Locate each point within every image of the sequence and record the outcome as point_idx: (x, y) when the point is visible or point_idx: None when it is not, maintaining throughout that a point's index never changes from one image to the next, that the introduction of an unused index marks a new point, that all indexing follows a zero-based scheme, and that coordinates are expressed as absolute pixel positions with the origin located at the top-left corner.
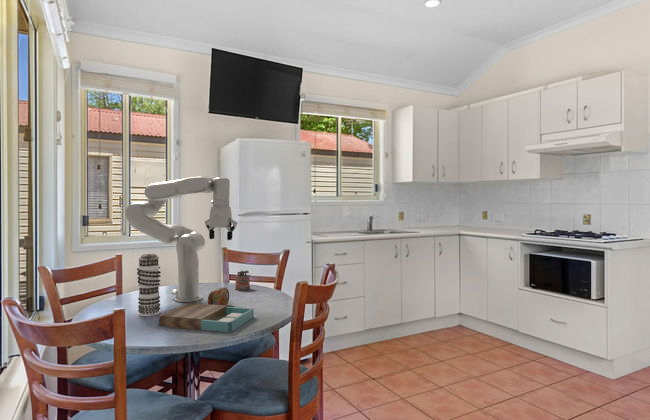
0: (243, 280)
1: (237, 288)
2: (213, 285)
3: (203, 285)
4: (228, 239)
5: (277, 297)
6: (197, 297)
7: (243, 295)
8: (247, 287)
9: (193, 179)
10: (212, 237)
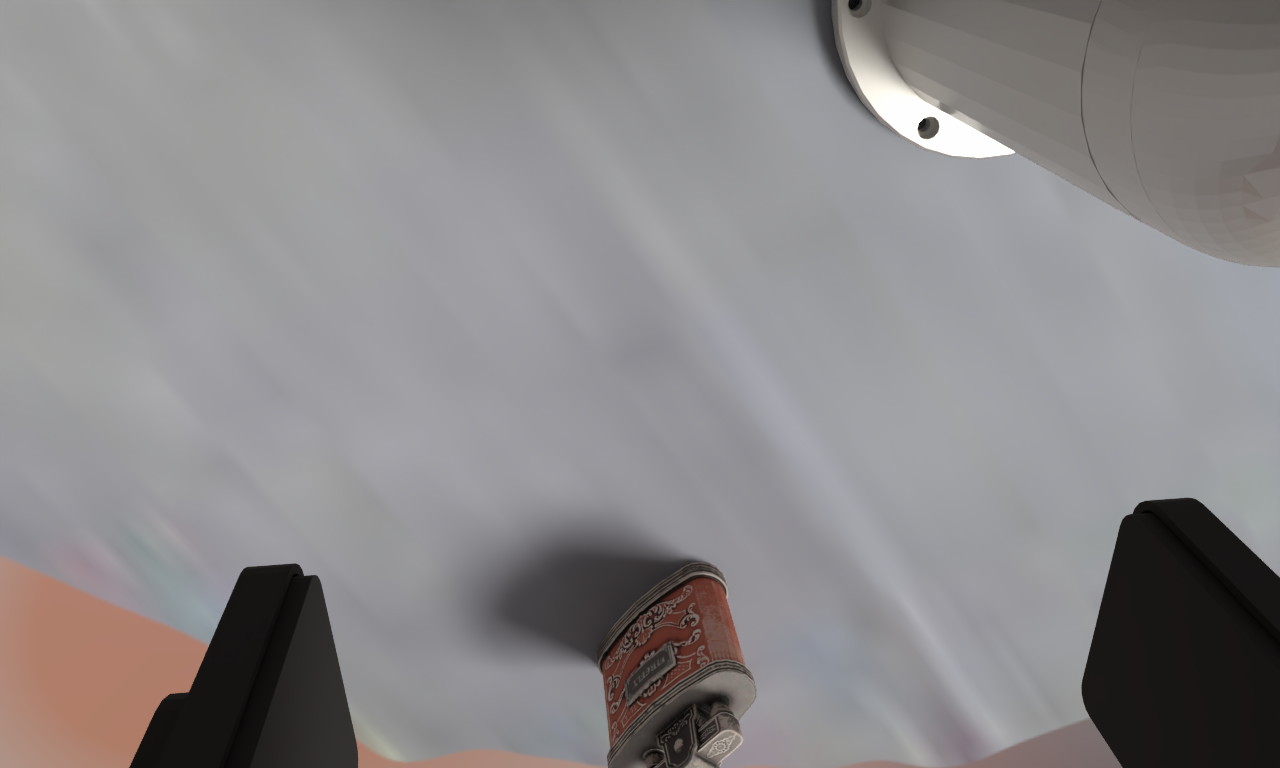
0: (647, 675)
1: (691, 580)
2: (1043, 633)
3: None
4: (244, 587)
5: (54, 469)
6: (880, 9)
7: (477, 404)
8: (612, 648)
9: None
10: (1129, 632)
